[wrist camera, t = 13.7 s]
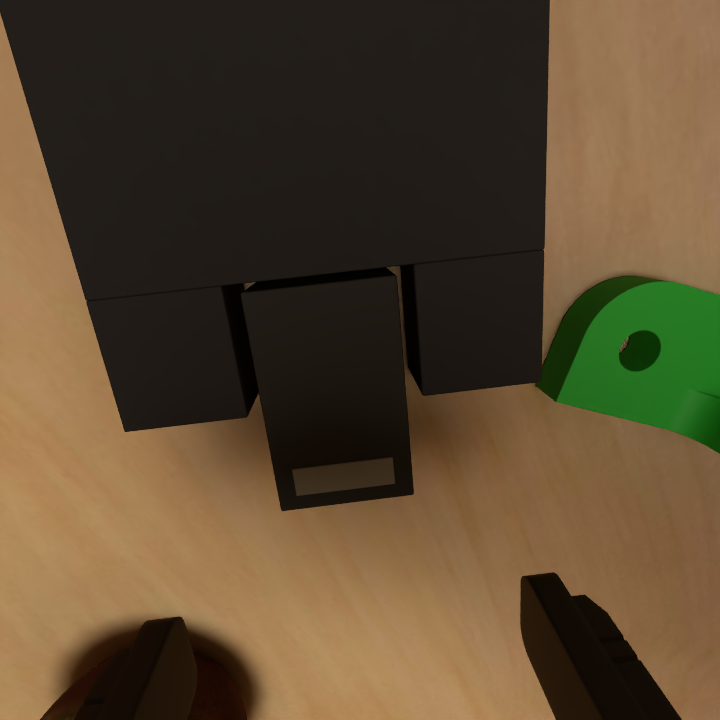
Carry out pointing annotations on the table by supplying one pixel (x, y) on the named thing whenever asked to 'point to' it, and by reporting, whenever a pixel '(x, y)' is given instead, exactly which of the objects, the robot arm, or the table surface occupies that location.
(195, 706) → the vase
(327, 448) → the black box
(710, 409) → the mechanical part
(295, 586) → the table surface
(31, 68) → the base pad
